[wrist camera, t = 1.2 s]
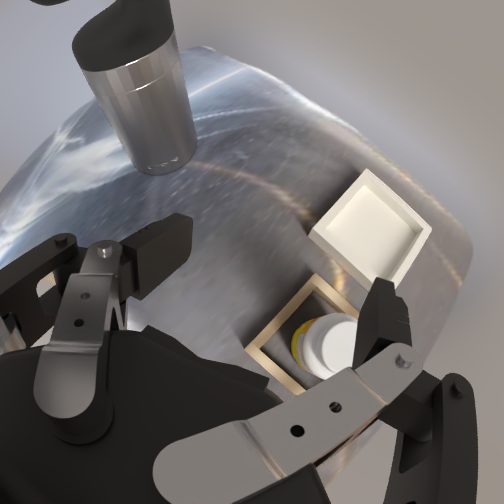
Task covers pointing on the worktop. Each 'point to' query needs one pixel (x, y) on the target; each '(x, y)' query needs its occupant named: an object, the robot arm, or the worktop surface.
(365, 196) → the parts tray
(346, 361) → the supplement bottle
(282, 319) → the square wooden frame
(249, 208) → the worktop surface
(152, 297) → the worktop surface
